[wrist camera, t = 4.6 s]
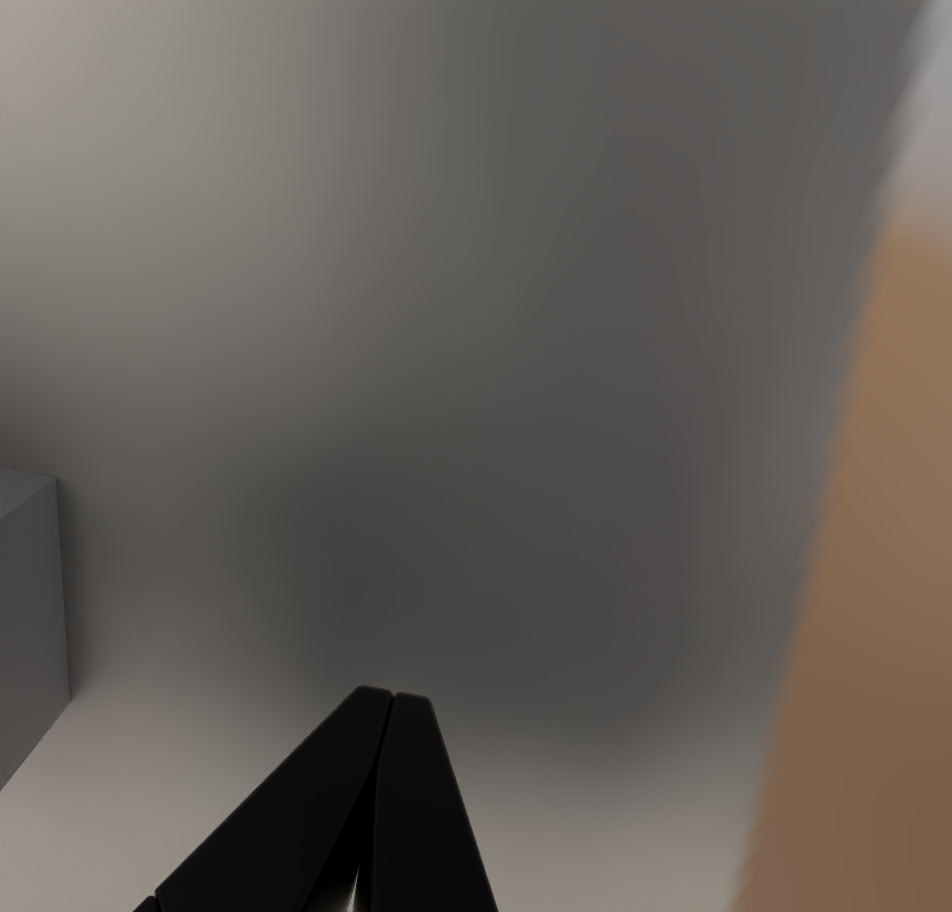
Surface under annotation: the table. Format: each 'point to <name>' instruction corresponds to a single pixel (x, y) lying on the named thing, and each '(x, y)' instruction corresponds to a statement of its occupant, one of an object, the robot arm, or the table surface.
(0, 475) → the plug
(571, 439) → the table surface
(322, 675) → the table surface
